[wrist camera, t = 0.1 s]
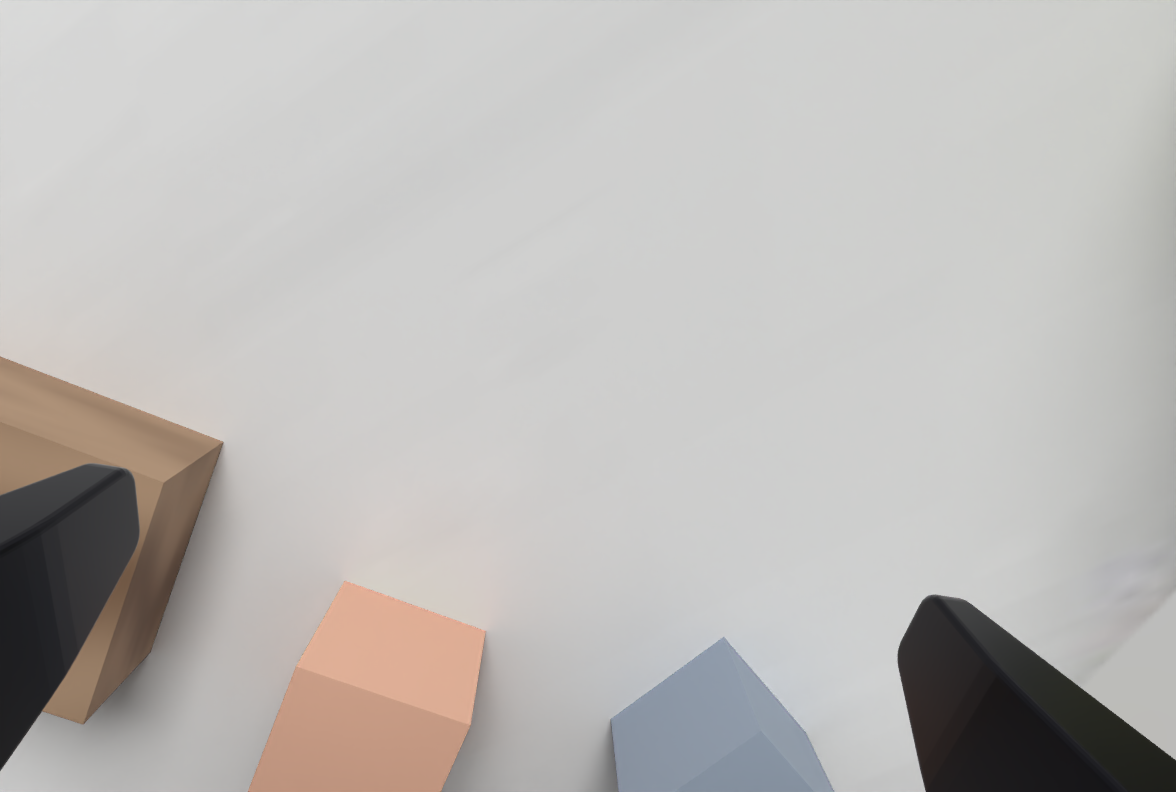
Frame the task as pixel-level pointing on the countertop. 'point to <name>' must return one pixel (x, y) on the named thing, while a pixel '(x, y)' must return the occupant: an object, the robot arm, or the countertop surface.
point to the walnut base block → (164, 496)
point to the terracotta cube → (374, 700)
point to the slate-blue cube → (713, 734)
